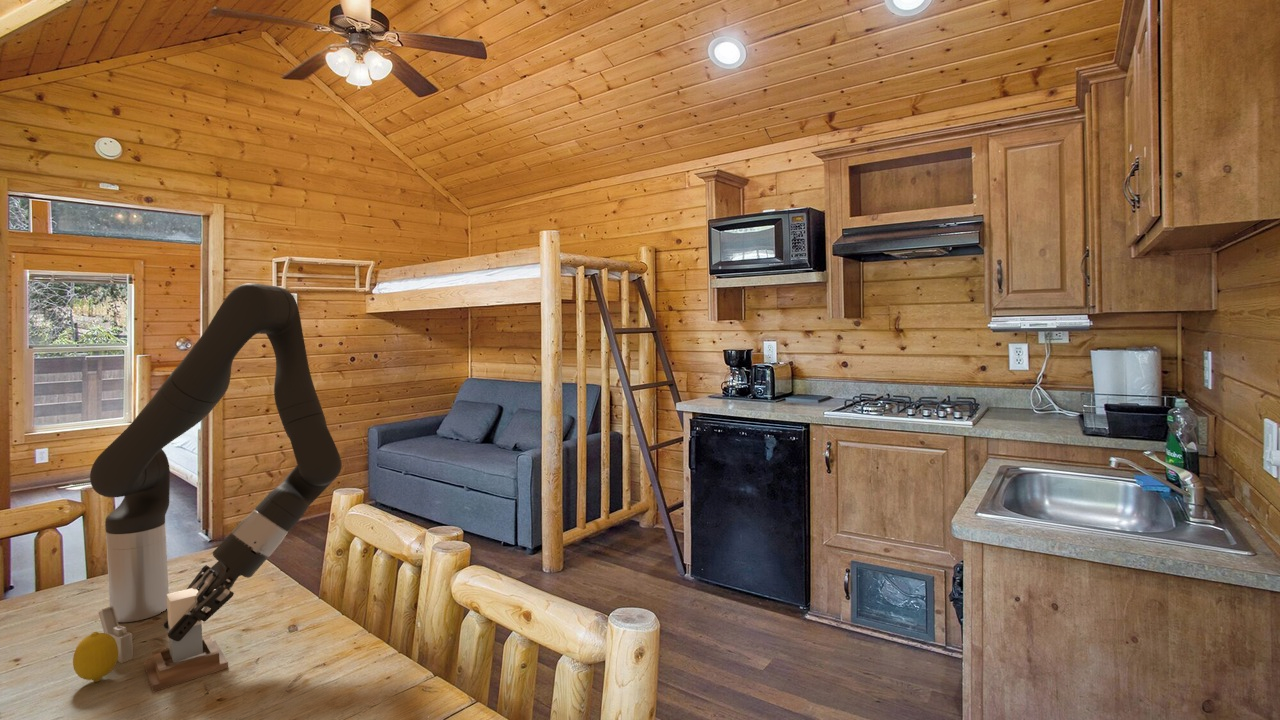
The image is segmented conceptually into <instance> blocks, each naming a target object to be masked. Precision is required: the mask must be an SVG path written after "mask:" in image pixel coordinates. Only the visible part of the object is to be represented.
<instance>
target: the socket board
mask: <svg viewBox="0 0 1280 720" xmlns="http://www.w3.org/2000/svg"><path fill="white" fill-rule="evenodd" d="M202 642H203V653H202V654H199V655H196V656H192V657H189V658H186V659H183V660H179V661H176V662H173V660H172V658H171V655H170V651H169V647H167V648H163V649H160V650H156V651H153V652H151V654H152V658H150V659H146V660H145V661H144V662H143V663H144V669H145V672H146V676H147V678H148V681H149V684H150V687H151V689H152V693H154V692H157V691H159V690H160V691H161V690H162V689H166V688H169V687H172V686H177V685H179V684H182V683H185V682H188V681H192V680H195V679H198V678H201V677H204V676H207V675H210V674H213V673H216V672H219V671H222V670H227V669H229V661H228V660H227V658H226V657H225V655H224V653H223V651H222V649H221V647H220V646H219V644H218V641H216V640H212V638H211V637H210V636H205V637H202Z"/></svg>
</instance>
